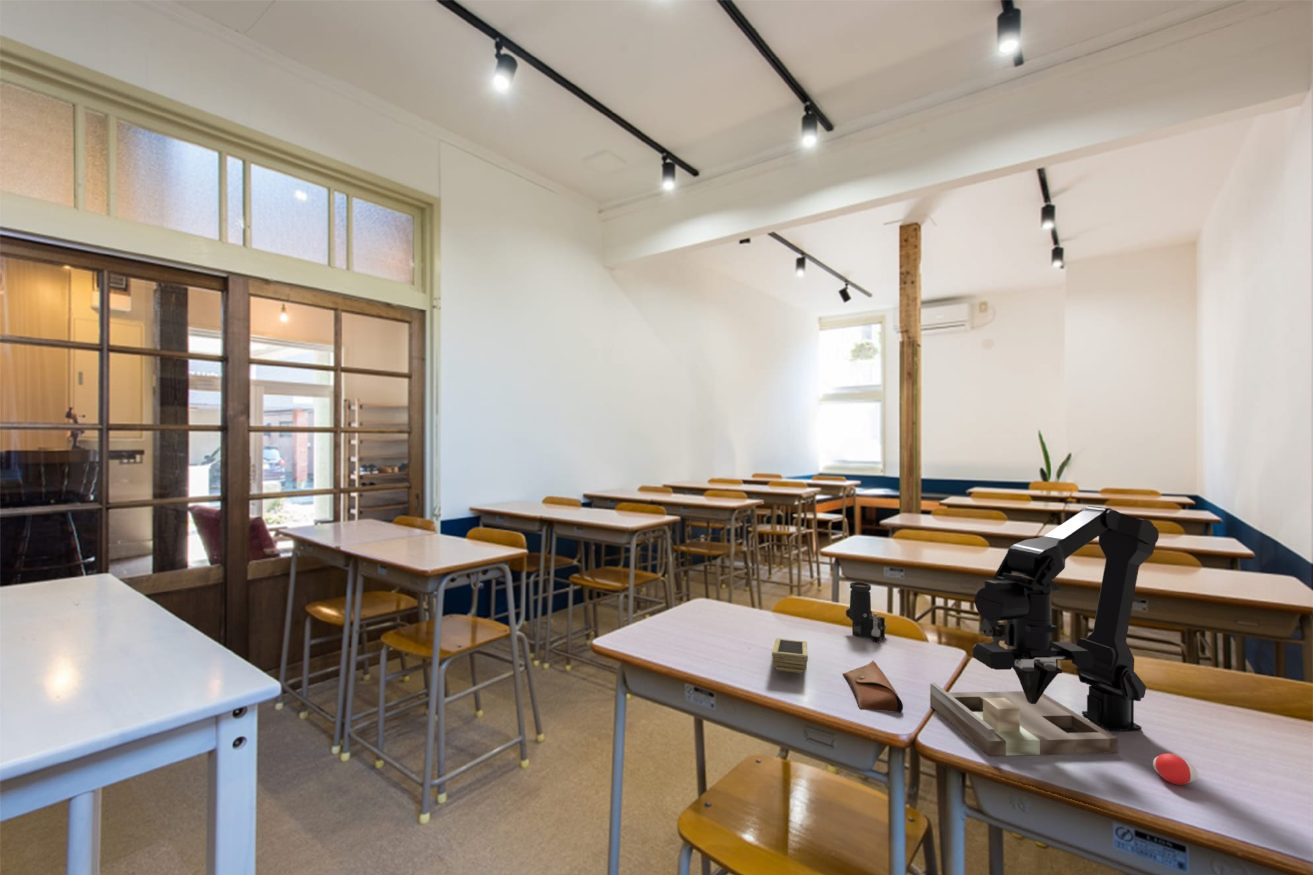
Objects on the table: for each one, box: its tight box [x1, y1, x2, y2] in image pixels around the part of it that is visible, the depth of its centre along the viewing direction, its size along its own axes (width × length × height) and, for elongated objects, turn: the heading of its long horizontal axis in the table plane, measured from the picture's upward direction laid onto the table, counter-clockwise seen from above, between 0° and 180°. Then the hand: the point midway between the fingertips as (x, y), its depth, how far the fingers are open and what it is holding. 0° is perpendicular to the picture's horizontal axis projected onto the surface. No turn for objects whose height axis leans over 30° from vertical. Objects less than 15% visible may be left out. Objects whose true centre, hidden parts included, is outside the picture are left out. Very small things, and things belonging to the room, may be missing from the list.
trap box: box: [929, 682, 1119, 757], centre depth 103 cm, size 23×18×4 cm
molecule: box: [1152, 753, 1199, 786], centre depth 87 cm, size 5×5×4 cm
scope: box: [845, 581, 887, 643], centre depth 152 cm, size 8×14×10 cm
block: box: [983, 698, 1020, 732], centre depth 99 cm, size 4×4×4 cm
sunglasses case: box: [842, 660, 904, 714], centre depth 117 cm, size 18×7×7 cm
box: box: [771, 637, 809, 674], centre depth 132 cm, size 8×22×5 cm, turn 167°
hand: (1031, 702), depth 99 cm, fingers closed
